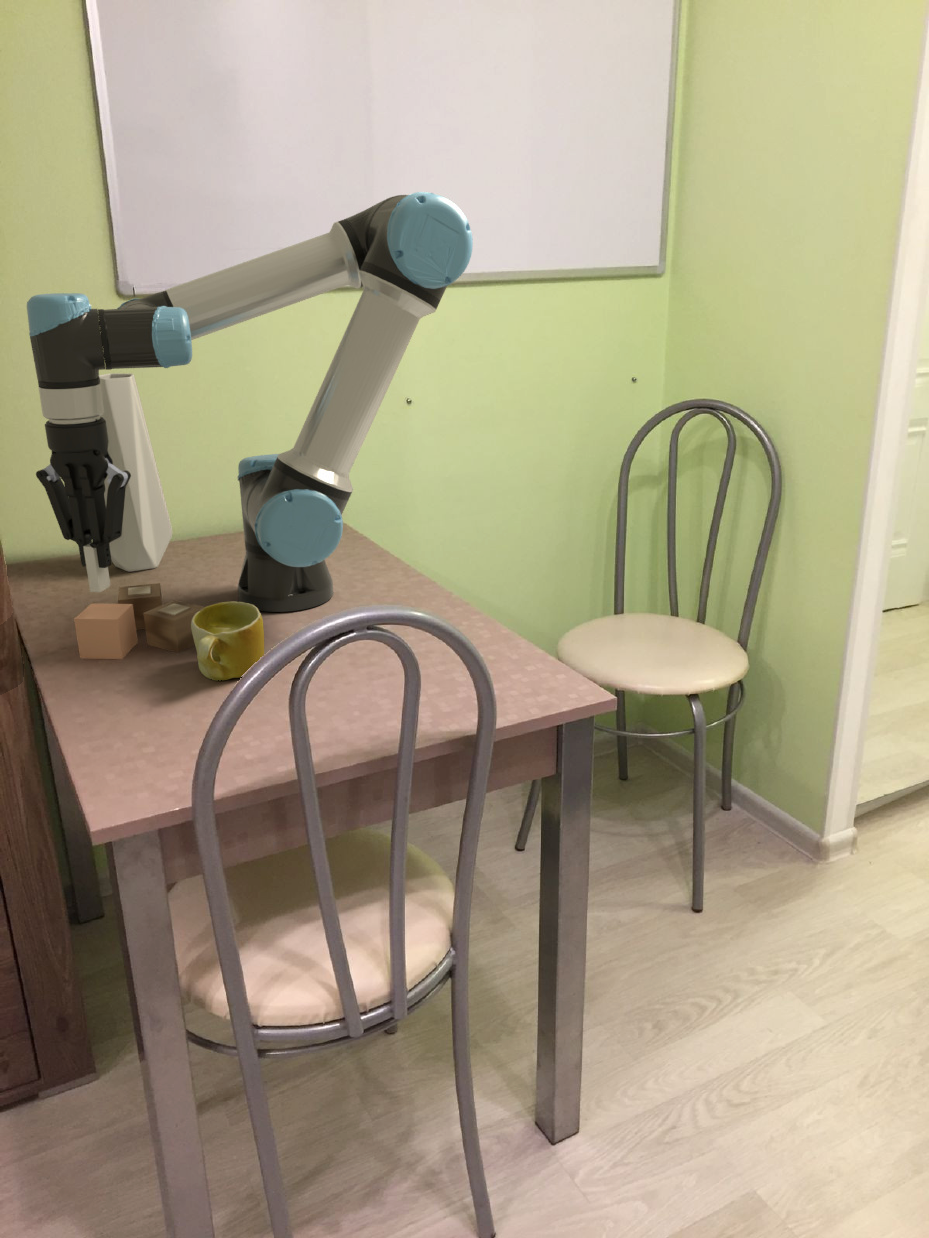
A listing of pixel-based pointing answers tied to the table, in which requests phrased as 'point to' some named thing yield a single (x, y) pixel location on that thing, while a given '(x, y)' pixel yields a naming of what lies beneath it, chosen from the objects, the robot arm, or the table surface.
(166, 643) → the walnut block
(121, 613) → the plain block
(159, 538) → the vase
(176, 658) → the table surface
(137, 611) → the walnut block
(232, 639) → the mug
